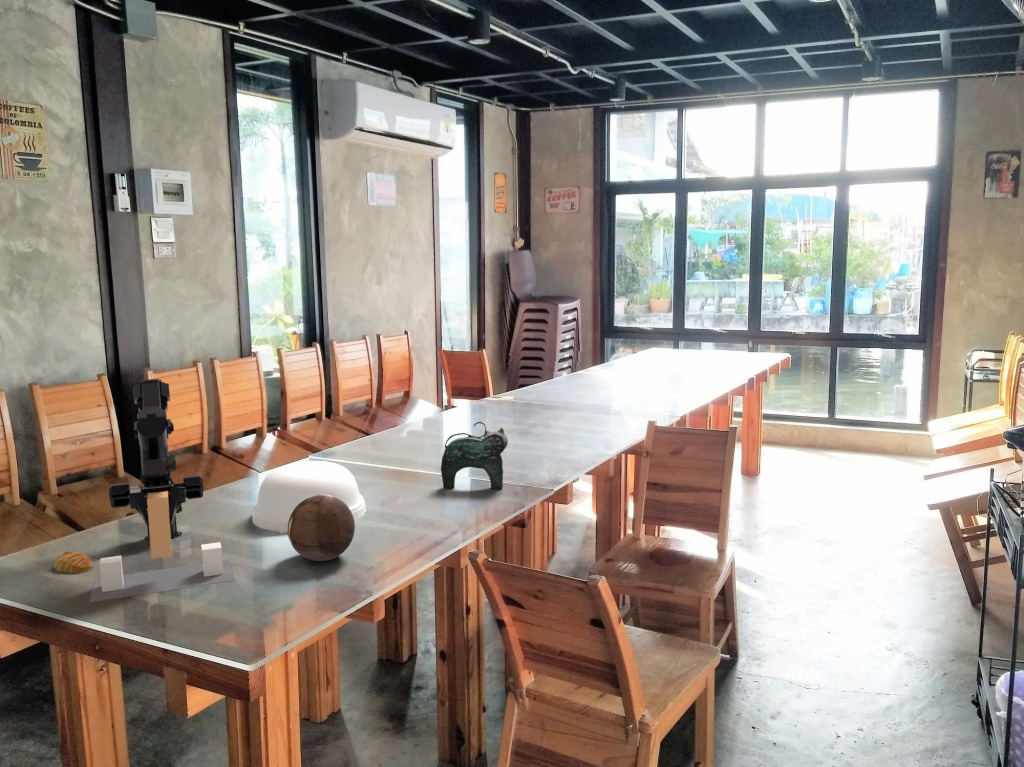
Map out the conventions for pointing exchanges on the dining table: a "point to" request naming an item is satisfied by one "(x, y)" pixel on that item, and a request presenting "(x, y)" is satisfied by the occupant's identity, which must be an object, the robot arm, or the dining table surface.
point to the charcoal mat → (162, 581)
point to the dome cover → (303, 491)
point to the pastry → (73, 562)
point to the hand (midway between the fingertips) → (159, 525)
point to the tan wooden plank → (159, 524)
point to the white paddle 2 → (212, 559)
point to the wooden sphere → (321, 527)
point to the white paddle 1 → (111, 573)
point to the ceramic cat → (475, 456)
